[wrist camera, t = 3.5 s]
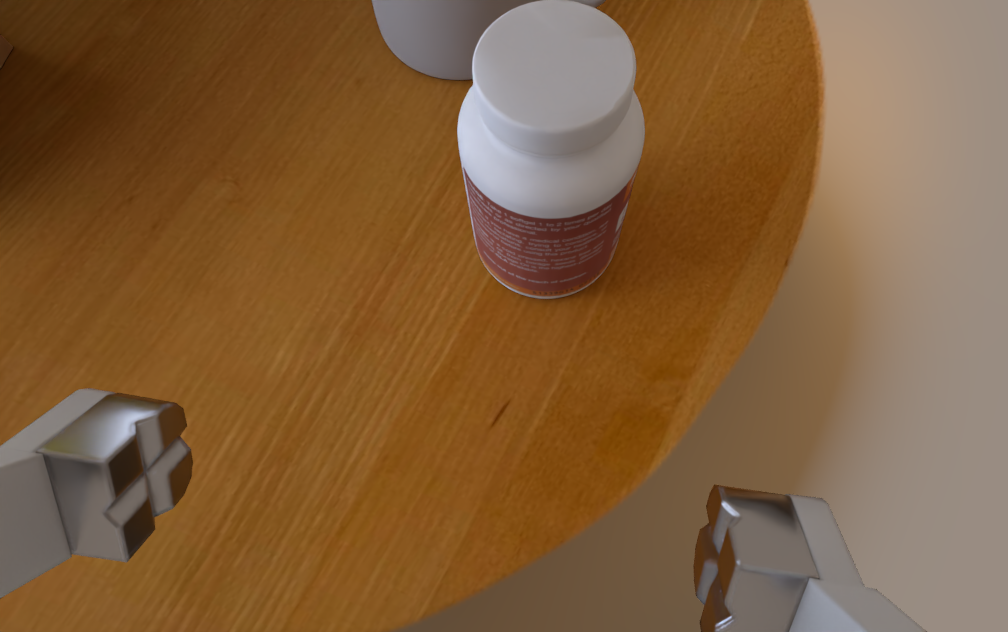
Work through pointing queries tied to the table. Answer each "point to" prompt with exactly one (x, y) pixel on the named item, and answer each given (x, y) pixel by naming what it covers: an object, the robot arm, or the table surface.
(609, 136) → the pill bottle
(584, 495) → the table surface
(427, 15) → the mug
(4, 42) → the box stack
